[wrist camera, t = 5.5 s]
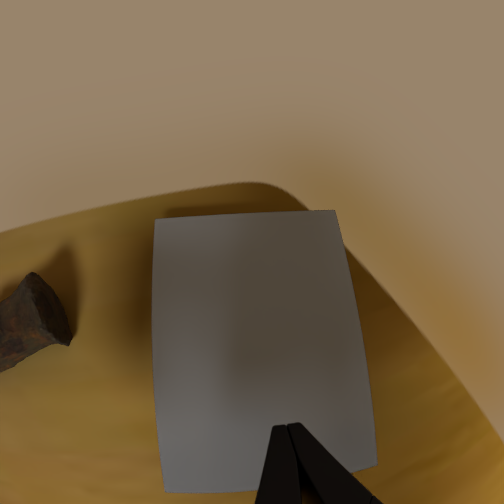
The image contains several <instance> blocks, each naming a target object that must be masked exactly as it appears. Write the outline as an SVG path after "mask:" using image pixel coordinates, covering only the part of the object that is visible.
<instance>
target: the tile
mask: <svg viewBox="0 0 504 504" xmlns="http://www.w3.org/2000/svg"><path fill="white" fill-rule="evenodd" d="M152 359H153V381H154V398H155V411H156V423H157V433H158V443H159V452H160V460H161V467H162V475H163V481H164V488H165V492H169V493H225V492H241V491H253V490H258V488H259V483H260V479H261V475H262V471H263V466H264V462H265V457H266V453H267V448H268V443H269V439H270V434H271V429H272V427H273V426H274V425H281V424H285V425H287V424H289V423H295V422H300V423H302V424H303V425H304V426H305V427H306V429H307V430H308V431H309V432H310V433H311V434H312V435H313V436H314V437H315V438H316V439H317V440H318V441H319V442H320V443H321V444H322V445H323V446H324V447H325V448H326V449H327V450H328V451H329V452H330V453H331V454H332V455H333V456H334V458H335V459H336V460H337V461H338V462H340V463H341V464H342V465H343V466H344V467H345V468H346V469H347V470H348V471H349V472H350V473H352V472H356V471H360V470H363V469H366V468H370V467H373V466H376V465H378V464H377V449H376V437H375V426H374V416H373V407H372V398H371V390H370V382H369V375H368V368H367V361H366V355H365V348H364V342H363V336H362V331H361V325H360V319H359V314H358V309H357V304H356V299H355V294H354V289H353V284H352V279H351V275H350V270H349V266H348V261H347V257H346V252H345V248H344V244H343V240H342V236H341V232H340V228H339V224H338V220H337V216H336V213H335V210H314V211H285V212H261V213H240V214H222V215H205V216H190V217H176V218H162V219H155V228H154V245H153V268H152Z"/></svg>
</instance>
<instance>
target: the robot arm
mask: <svg viewBox="0 0 504 504" xmlns="http://www.w3.org/2000/svg"><path fill="white" fill-rule="evenodd" d="M255 504H383V503H382V502H381V501H380V500H379V499H377V498H376V497H375V496H372V493H371V492H370V491H369V490H368V489H366V488H365V487H364V486H363V485H362V484H361V483H360V482H359V481H358V480H357V479H356V478H355V477H354V476H353V475H352V474H351V473H350V472H349V471H348V470H347V469H346V468H345V467H344V466H343V465H342V464H341V463H340V462H338V461H337V460H336V459H335V458H334V456H333V455H332V454H331V453H330V452H329V451H328V450H327V449H326V448H325V447H324V446H323V445H322V444H321V443H320V442H319V441H318V440H317V439H316V438H315V437H314V436H313V435H312V434H311V433H310V432H309V431H308V430H307V429H306V427H305V426H304V425H303V424H302V423H300V422H295V423H289V424H287V425H285V424H281V425H274V426H273V427H272V429H271V434H270V439H269V443H268V448H267V453H266V457H265V462H264V466H263V471H262V475H261V479H260V483H259V488H258V492H257V496H256V500H255Z"/></svg>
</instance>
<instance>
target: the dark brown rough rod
mask: <svg viewBox="0 0 504 504" xmlns="http://www.w3.org/2000/svg"><path fill="white" fill-rule="evenodd" d="M71 340H72V334H71V331H70V329H69V325H68V321H67V317H66V314H65V311H64V309H63V306H62V305H61V303H60V301H59V299H58V297H57V296H56V294H55V292H54V291H53V289H52V288H51V287H50V286H49V285H48V284H47V283H46V282H45V281H44V280H43V279H42V278H41V277H40V276H39V275H37V274H36V273H34V272H31V273H29V274H28V275H27V276H26V277H25V279H24V280H23V281H22V282H21V283H20V285H19V287H18V289H16V290H15V291H14V293H13V294H12V295H11V296H10V297H8V298H7V299H5V300H3V301H2V302H1V303H0V372H3V371H5V370H7V369H9V368H12V367H14V366H15V365H16V364H17V363H18V362H20V361H22V360H24V359H25V358H26V357H28V356H30V355H32V354H34V353H35V352H37V351H38V350H40V349H42V348H44V347H47V346H49V345H51V344H57V343H59V344H61V345H66V346H69V345H70V342H71Z"/></svg>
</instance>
